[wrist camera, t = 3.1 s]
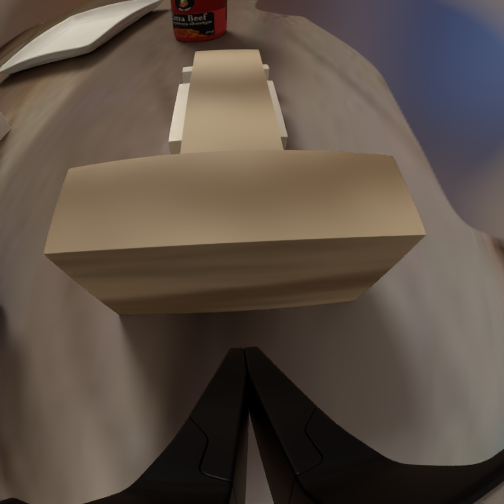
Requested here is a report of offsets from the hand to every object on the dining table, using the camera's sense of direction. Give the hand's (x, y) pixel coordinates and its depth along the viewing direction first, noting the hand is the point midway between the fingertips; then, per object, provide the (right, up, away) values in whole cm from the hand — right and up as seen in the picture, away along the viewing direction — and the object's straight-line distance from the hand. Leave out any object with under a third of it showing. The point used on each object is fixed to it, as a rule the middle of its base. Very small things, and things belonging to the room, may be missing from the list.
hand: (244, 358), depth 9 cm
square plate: (-33, +45, +29) cm, 62 cm away
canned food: (-7, +35, +25) cm, 44 cm away
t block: (-1, +6, +11) cm, 12 cm away
